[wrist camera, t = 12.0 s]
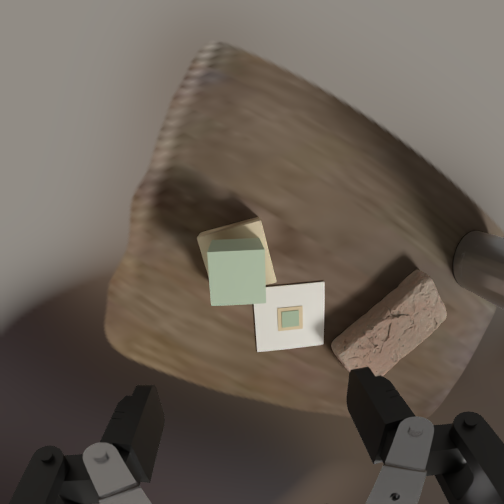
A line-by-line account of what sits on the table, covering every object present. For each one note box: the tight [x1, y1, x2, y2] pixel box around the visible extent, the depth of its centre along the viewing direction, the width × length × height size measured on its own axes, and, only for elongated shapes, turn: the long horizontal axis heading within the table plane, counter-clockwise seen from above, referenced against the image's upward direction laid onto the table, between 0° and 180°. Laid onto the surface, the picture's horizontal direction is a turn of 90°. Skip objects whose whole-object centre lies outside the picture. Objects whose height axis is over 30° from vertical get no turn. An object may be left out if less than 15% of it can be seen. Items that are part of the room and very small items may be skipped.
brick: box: [331, 269, 447, 376], centre depth 38 cm, size 17×8×5 cm, turn 129°
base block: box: [197, 217, 276, 285], centre depth 35 cm, size 7×7×4 cm
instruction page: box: [254, 281, 324, 352], centre depth 39 cm, size 9×9×1 cm
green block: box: [207, 238, 266, 306], centre depth 30 cm, size 5×5×6 cm
